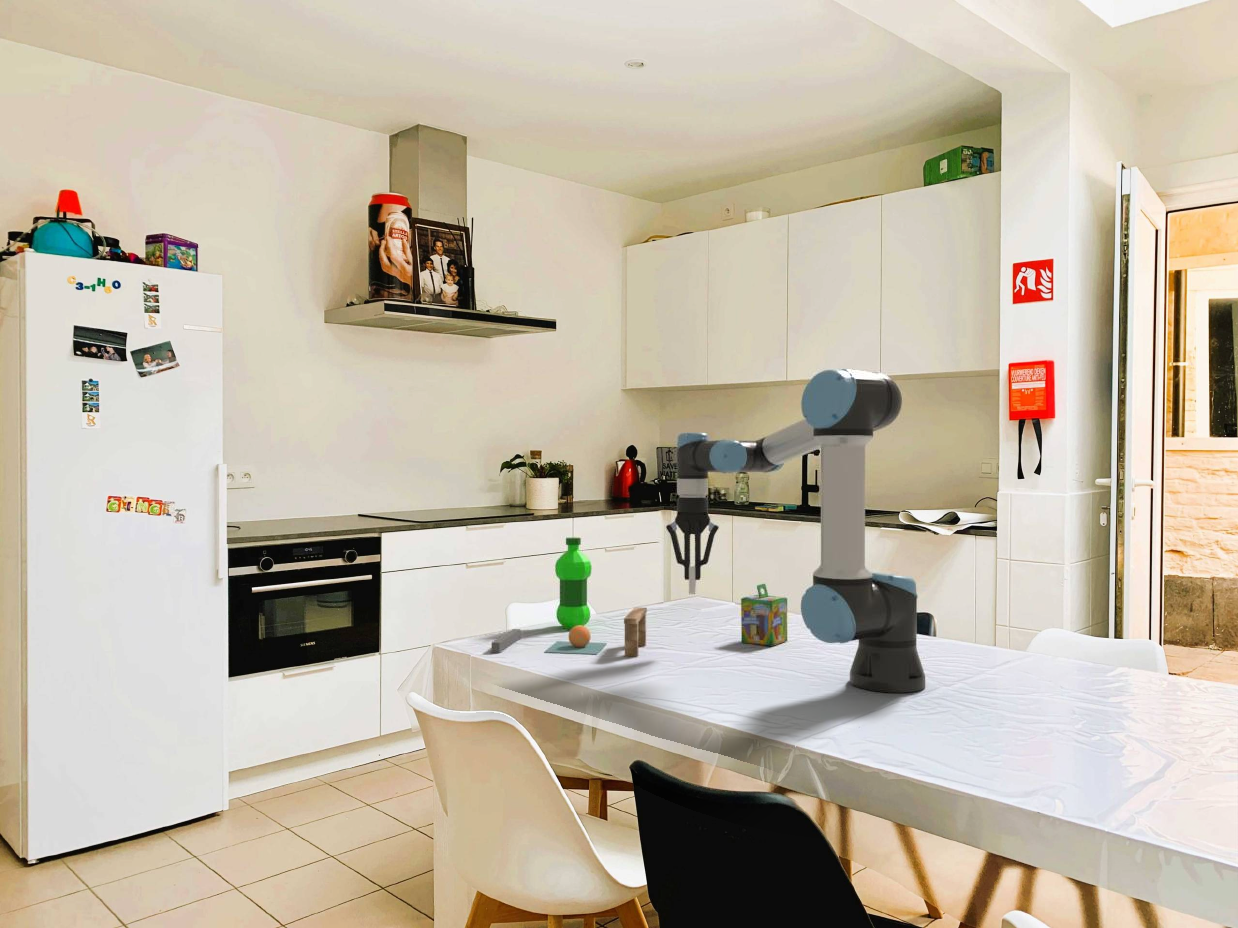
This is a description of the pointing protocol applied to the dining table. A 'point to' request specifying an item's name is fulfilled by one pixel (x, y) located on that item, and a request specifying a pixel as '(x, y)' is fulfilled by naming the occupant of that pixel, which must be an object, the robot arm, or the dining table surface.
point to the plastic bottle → (573, 585)
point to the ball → (579, 636)
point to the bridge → (635, 631)
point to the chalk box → (763, 618)
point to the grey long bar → (506, 640)
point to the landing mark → (575, 648)
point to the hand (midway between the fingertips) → (692, 593)
